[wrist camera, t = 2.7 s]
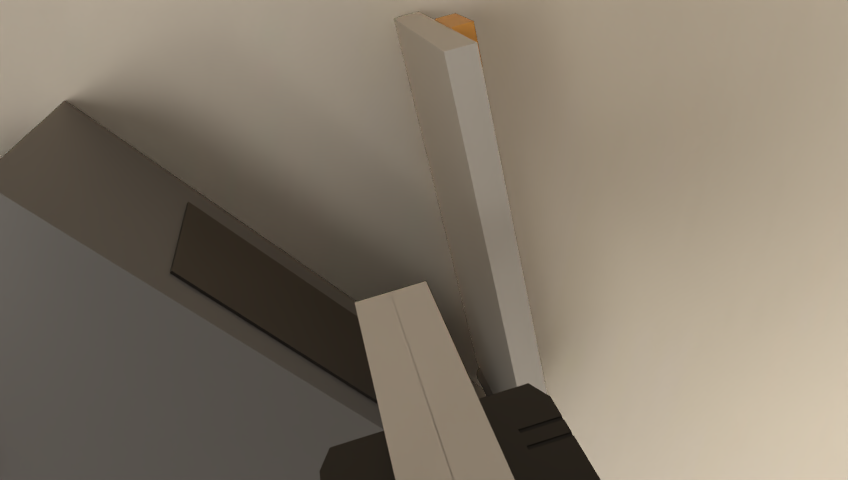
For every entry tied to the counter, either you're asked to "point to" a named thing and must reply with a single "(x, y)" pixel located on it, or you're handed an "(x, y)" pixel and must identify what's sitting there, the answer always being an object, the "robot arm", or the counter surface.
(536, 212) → the counter surface
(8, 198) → the box
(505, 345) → the side door
